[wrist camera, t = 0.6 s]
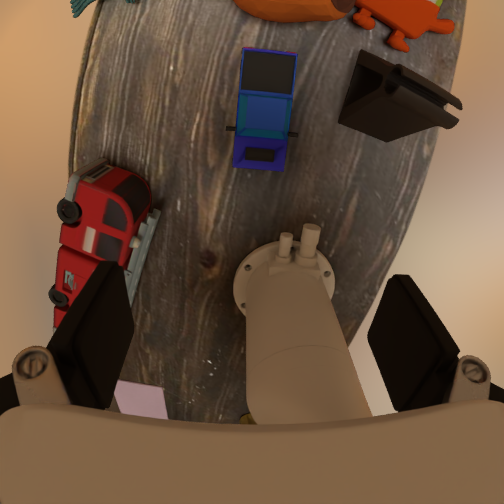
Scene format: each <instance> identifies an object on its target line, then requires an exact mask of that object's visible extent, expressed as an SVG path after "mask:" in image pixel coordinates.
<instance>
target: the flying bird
mask: <svg viewBox="0 0 504 504" xmlns="http://www.w3.org/2000/svg"><path fill="white" fill-rule="evenodd" d="M94 1H96V0H71V1H70V3H71V4H72V6H71V8H73V10H72V13H75V14H74V15H73V17H74V18H77V17H78V16H79V15H80V14H81V13H82V12H83V10H84V9H85V8H86V7H87V6H88V5H89V4H90V3H92V2H94ZM125 1H126V2H127V3H132V4H133V2H134V3H135V0H125Z"/></svg>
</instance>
